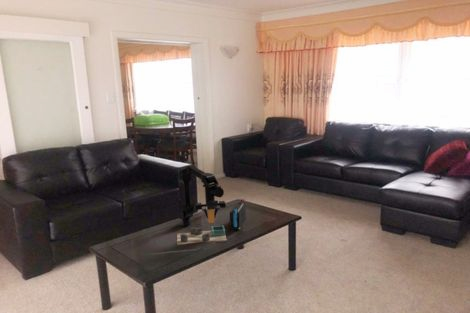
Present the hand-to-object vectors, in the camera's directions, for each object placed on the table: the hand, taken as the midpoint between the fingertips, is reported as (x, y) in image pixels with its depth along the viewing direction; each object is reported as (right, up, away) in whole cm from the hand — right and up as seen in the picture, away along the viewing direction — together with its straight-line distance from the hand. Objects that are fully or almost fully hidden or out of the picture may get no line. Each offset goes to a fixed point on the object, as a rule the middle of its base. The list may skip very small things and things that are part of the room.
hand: (211, 218), depth 230 cm
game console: (+17, -8, +21) cm, 29 cm away
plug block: (0, -2, 0) cm, 2 cm away
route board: (-6, -12, 0) cm, 14 cm away
